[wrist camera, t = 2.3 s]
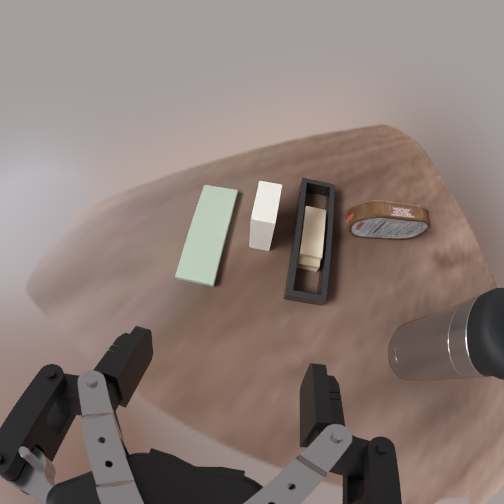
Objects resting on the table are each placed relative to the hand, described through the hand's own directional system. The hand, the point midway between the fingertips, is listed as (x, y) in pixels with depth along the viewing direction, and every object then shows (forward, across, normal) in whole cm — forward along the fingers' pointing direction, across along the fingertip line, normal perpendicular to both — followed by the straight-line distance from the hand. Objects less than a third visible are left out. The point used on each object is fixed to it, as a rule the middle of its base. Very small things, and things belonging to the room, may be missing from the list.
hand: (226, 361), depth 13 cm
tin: (+34, -20, +1) cm, 39 cm away
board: (+30, +8, +5) cm, 31 cm away
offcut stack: (+31, -7, +4) cm, 32 cm away
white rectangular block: (+31, 0, +3) cm, 31 cm away
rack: (+31, -8, +3) cm, 32 cm away
